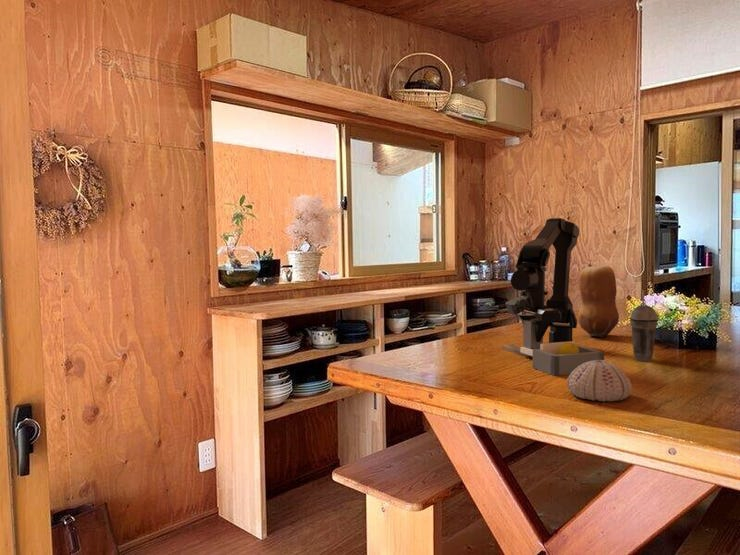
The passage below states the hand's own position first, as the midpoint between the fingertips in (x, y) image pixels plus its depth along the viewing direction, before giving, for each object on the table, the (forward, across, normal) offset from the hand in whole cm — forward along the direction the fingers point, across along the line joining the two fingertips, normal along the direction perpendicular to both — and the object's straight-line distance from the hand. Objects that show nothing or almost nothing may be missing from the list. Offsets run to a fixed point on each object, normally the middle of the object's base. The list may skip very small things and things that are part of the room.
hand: (533, 340), depth 168 cm
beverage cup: (+5, +14, +27) cm, 31 cm away
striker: (+4, +5, 0) cm, 6 cm away
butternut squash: (+6, -23, +40) cm, 46 cm away
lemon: (+4, +14, 0) cm, 14 cm away
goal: (+5, +16, 0) cm, 17 cm away
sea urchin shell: (+5, +40, -9) cm, 42 cm away
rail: (+5, -8, 0) cm, 9 cm away
